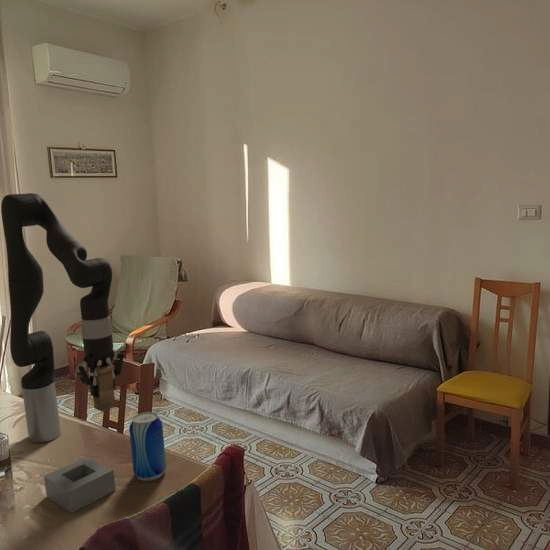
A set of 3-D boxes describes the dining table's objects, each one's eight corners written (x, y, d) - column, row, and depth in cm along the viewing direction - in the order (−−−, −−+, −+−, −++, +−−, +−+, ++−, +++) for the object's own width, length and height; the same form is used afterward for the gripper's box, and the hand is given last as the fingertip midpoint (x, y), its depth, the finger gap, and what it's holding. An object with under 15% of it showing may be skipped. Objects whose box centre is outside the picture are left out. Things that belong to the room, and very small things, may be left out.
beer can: (158, 483, 137) (153, 425, 134) (128, 481, 138) (122, 423, 136) (171, 466, 145) (166, 411, 142) (142, 464, 146) (137, 409, 144)
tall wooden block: (91, 406, 146) (86, 365, 144) (104, 401, 149) (100, 361, 147) (105, 413, 142) (101, 370, 140) (118, 408, 145) (114, 365, 143)
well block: (46, 496, 134) (43, 475, 133) (90, 475, 143) (87, 456, 142) (71, 513, 126) (68, 492, 125) (115, 490, 135) (113, 469, 134)
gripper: (112, 325, 150) (118, 383, 153) (65, 338, 139) (71, 400, 142) (128, 329, 145) (133, 389, 148) (80, 342, 134) (87, 406, 137)
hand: (103, 394), depth 145 cm, fingers closed on tall wooden block, 4 cm apart
